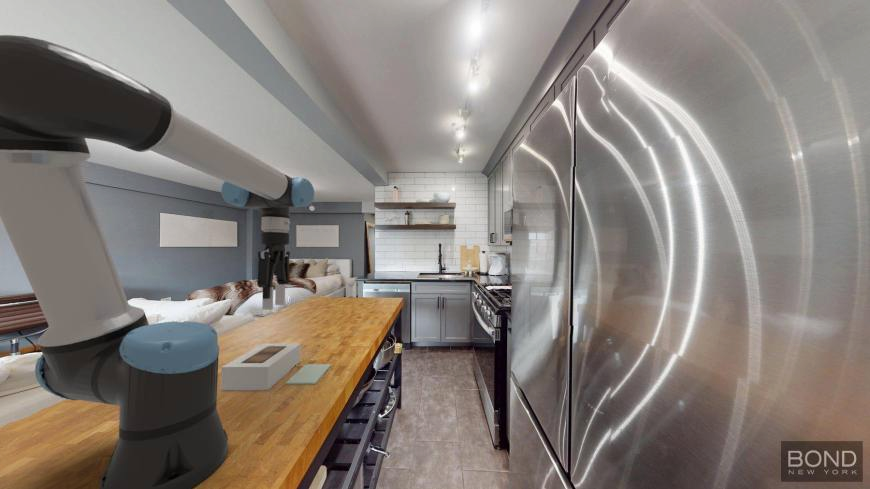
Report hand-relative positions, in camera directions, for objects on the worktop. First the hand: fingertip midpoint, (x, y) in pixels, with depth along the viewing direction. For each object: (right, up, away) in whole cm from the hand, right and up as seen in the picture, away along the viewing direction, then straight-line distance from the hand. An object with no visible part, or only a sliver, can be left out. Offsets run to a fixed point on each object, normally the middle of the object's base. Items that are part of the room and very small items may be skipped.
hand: (274, 306), depth 85 cm
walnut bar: (0, -15, -4) cm, 16 cm away
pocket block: (0, -19, -4) cm, 19 cm away
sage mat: (+13, -19, -4) cm, 23 cm away
